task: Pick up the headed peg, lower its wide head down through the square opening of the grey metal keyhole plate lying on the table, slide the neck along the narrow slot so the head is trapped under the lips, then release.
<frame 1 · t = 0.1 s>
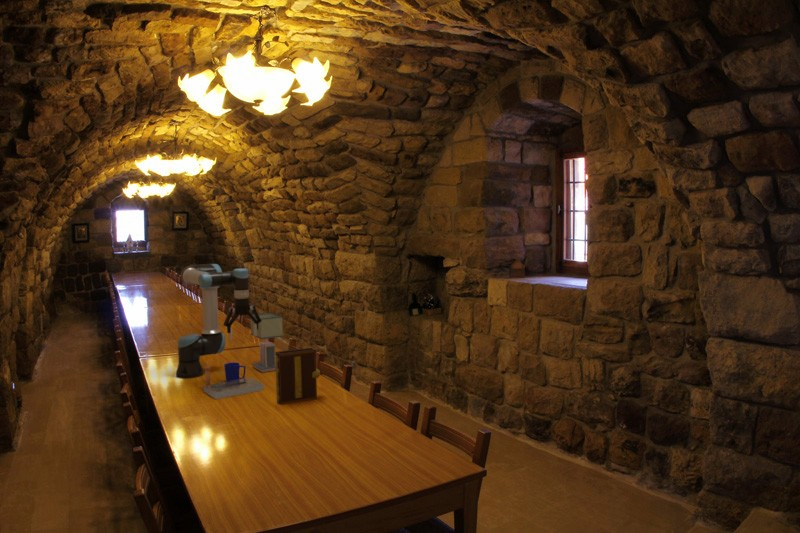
hand: (243, 337, 316), 28 cm above the table, fingers open, 13 cm apart
desk lamp: (267, 368, 362), on the table
headed peg: (208, 388, 320), on the table
keyhole plate: (233, 390, 315), on the table
book: (299, 400, 297), on the table
mug: (235, 382, 333), on the table
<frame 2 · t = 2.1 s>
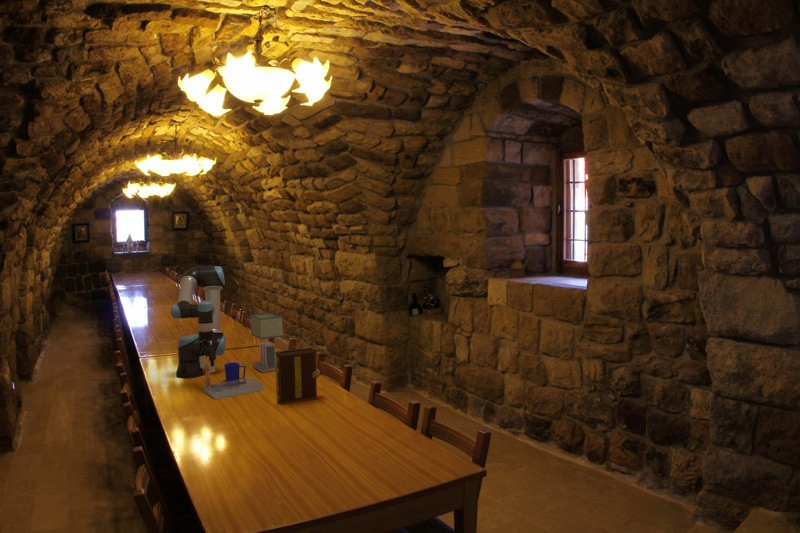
hand: (207, 369, 318), 10 cm above the table, fingers open, 13 cm apart
nothing on the table moved.
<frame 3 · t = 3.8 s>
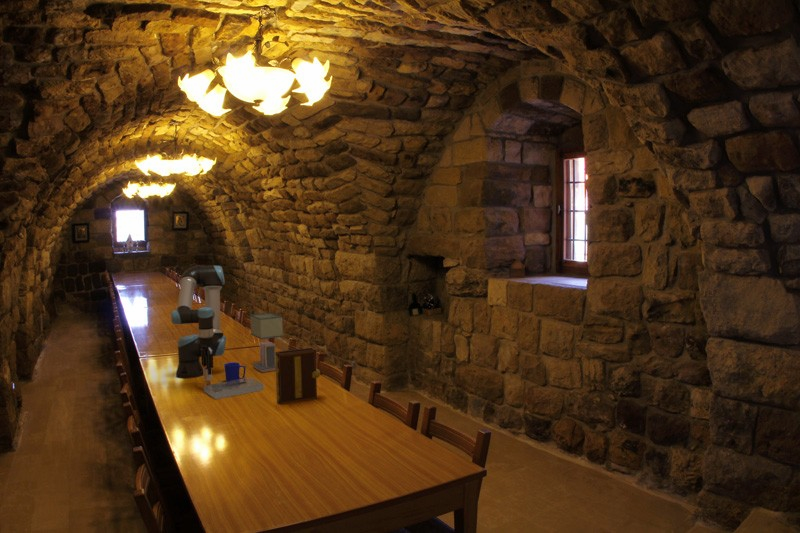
hand: (208, 379, 319), 5 cm above the table, fingers closed on headed peg, 3 cm apart
headed peg: (208, 388, 320), on the table, touching gripper
everything else where it was.
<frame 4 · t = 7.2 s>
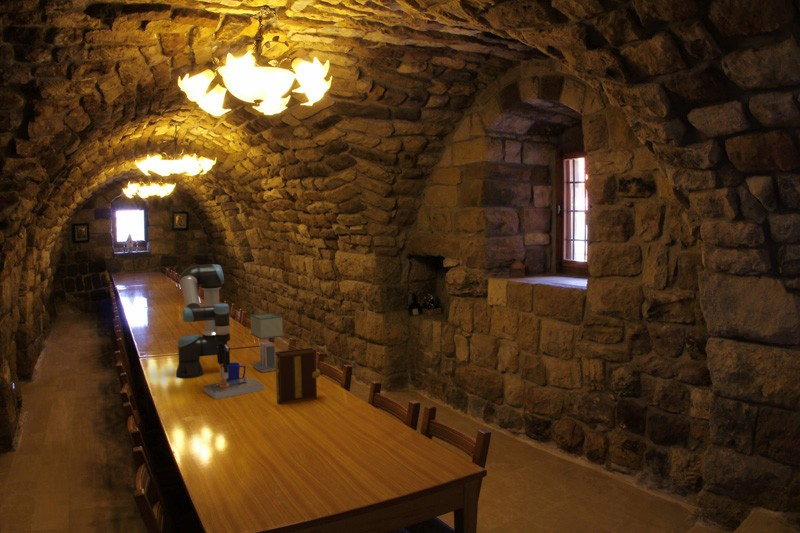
hand: (224, 377, 311), 8 cm above the table, fingers closed on headed peg, 3 cm apart
headed peg: (224, 387, 311), point 3 cm above the table, touching gripper
everything else where it was.
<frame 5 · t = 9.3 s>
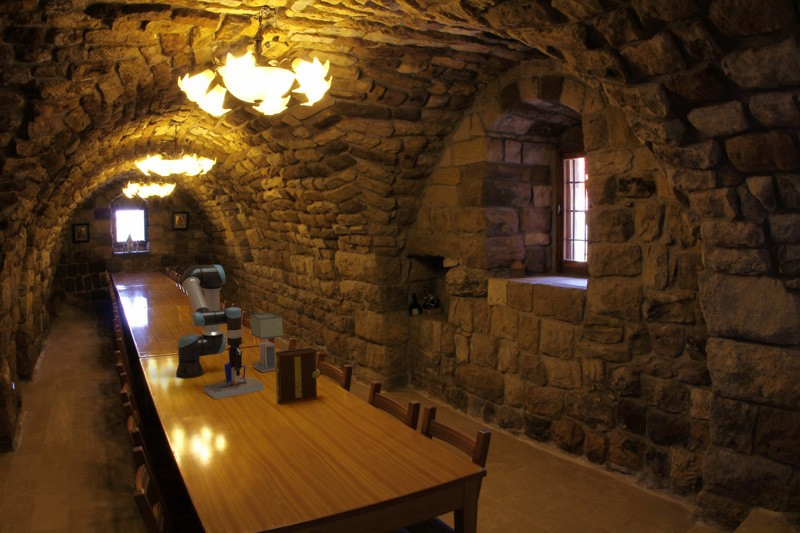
hand: (236, 380, 315), 5 cm above the table, fingers closed on headed peg, 3 cm apart
headed peg: (236, 390, 316), resting in keyhole plate, touching gripper
everything else where it was.
when the fingers open (5 cm above the table, at t = 10.8 s): headed peg stays where it is, resting in keyhole plate.
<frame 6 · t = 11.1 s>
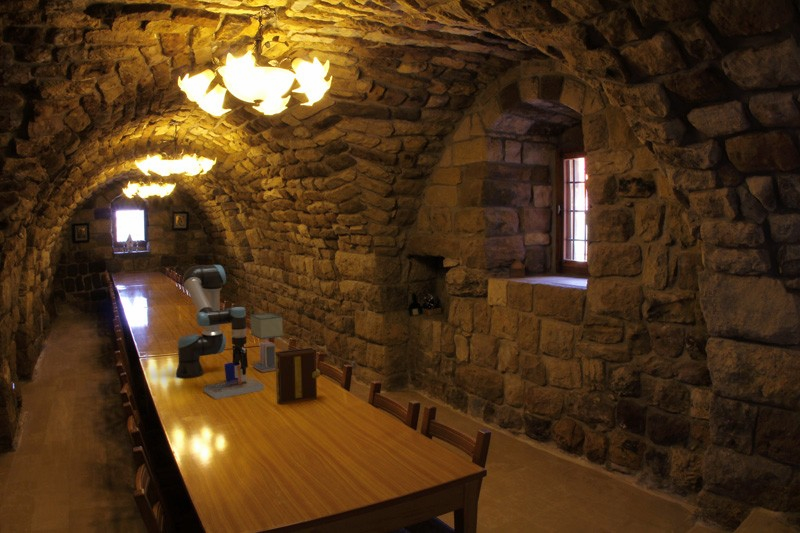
hand: (240, 378, 317), 6 cm above the table, fingers open, 7 cm apart
headed peg: (240, 389, 317), resting in keyhole plate
everything else where it was.
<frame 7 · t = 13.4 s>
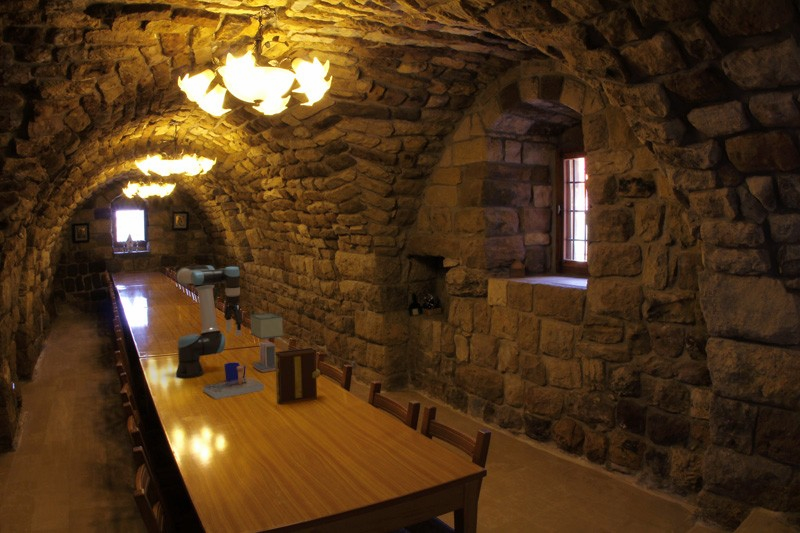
hand: (233, 333, 325), 28 cm above the table, fingers open, 13 cm apart
nothing on the table moved.
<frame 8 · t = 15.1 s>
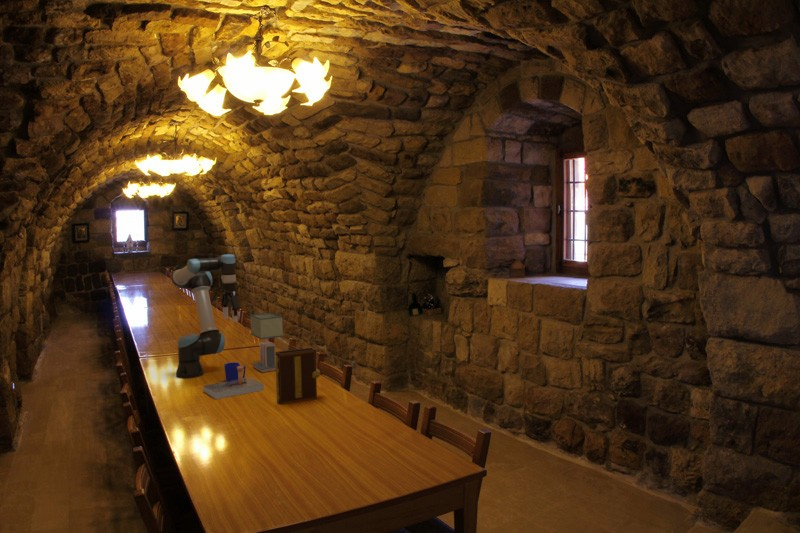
hand: (230, 320, 331), 35 cm above the table, fingers open, 13 cm apart
nothing on the table moved.
at the end: headed peg 0.3 cm from the target spot, resting in keyhole plate; headed peg tilted 0°; the gripper is holding nothing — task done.
